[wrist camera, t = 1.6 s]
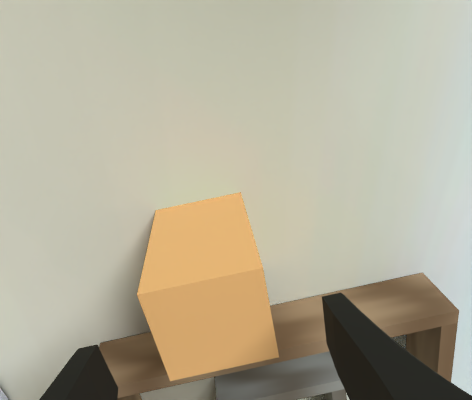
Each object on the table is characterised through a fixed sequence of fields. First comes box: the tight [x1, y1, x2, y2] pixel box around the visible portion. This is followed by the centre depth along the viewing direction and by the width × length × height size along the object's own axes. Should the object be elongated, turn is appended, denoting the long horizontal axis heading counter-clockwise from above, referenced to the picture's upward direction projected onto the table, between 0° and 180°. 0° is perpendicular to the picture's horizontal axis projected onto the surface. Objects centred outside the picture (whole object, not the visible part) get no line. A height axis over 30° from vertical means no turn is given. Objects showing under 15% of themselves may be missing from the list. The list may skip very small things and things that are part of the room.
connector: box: [137, 192, 279, 381], centre depth 15 cm, size 4×4×6 cm
